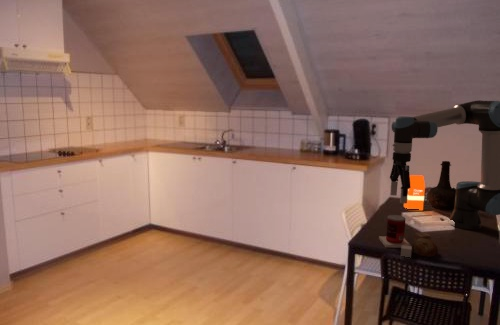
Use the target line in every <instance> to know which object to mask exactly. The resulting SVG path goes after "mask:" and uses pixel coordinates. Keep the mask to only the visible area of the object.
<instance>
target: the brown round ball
mask: <svg viewBox="0 0 500 325" xmlns="http://www.w3.org/2000/svg"><path fill="white" fill-rule="evenodd" d="M420 238H424V239H429V240H431V241H432V236H431V235H430V234H428V233H426V232H424V231H423V232H414V235H413V243H414V242H415V241H416V240H417V239H420Z"/></svg>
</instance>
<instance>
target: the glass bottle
mask: <svg viewBox="0 0 500 325" xmlns="http://www.w3.org/2000/svg"><path fill="white" fill-rule="evenodd" d="M440 166H441V170H440V175H439V180H438V183H437V185H436V186H434V187H432V188H430V189H429V190H428V191H427V195H426V198H427V200H428V203H429V204H430V205H432V206H433V207H434V208H437V209H440V210H452V209H454V202H455V191H456V188H455V187H452V186H451V185H452V184H451V180H450V179H451V177H450V176H451V174H450V170H451V169H450V168H451V166H452V164H451V161H449V160H443V161H442V162H441V163H440Z"/></svg>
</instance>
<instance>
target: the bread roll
mask: <svg viewBox="0 0 500 325" xmlns="http://www.w3.org/2000/svg"><path fill="white" fill-rule="evenodd" d="M411 246H412V250H411V253H412V252H413V254H416V255H418V256H420V257H427V258H429V257H434V256H436V255H437V253H438V247H437V245H436V244H435V242H434V241H432V239H431V240H429V239H424V238H420V239H417V240H416V241H415V242H414V241H413V244H412V245H411Z"/></svg>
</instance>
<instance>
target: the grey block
mask: <svg viewBox="0 0 500 325" xmlns="http://www.w3.org/2000/svg"><path fill="white" fill-rule="evenodd" d="M412 246H413V245H411V246H406V245H402V247H401V248H400V257H401V256H405V257H410V258H411V259H412ZM410 258H409V259H410Z"/></svg>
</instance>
